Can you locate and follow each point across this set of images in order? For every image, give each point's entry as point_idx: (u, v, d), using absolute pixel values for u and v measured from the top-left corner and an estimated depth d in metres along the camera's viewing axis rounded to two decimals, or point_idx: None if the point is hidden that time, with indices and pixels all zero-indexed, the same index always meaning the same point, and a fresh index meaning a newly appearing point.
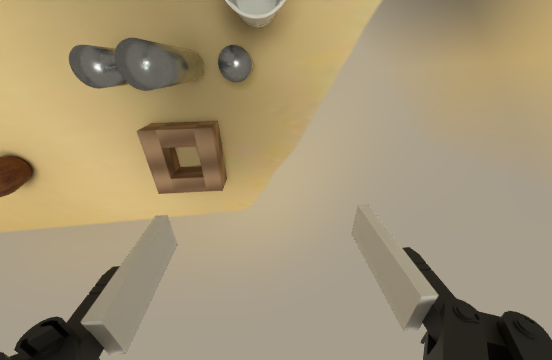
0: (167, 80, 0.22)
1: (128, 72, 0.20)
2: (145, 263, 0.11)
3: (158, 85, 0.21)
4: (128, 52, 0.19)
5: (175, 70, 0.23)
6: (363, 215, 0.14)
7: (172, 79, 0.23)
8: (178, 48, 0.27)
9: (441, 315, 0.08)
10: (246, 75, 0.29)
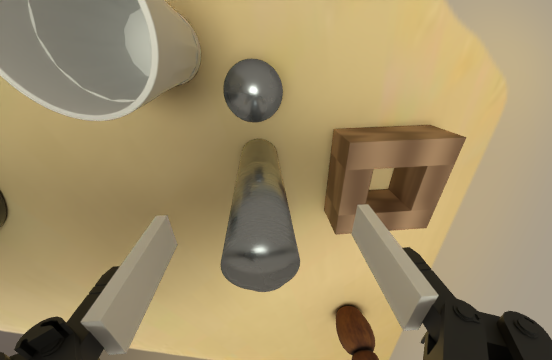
0: (283, 224, 0.12)
1: (271, 279, 0.12)
2: (145, 263, 0.11)
3: (292, 247, 0.11)
4: (242, 275, 0.12)
5: (266, 202, 0.13)
6: (363, 215, 0.14)
7: (280, 210, 0.13)
8: (237, 176, 0.19)
9: (441, 315, 0.08)
10: (271, 70, 0.15)
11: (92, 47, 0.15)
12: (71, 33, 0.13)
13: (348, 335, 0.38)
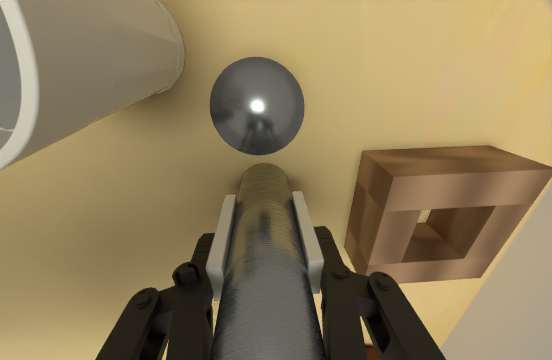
0: None
1: None
2: (231, 231, 0.13)
3: None
4: None
5: (280, 312, 0.07)
6: (293, 200, 0.15)
7: (305, 331, 0.07)
8: (233, 229, 0.13)
9: (325, 282, 0.10)
10: (287, 76, 0.09)
11: None
12: None
13: None
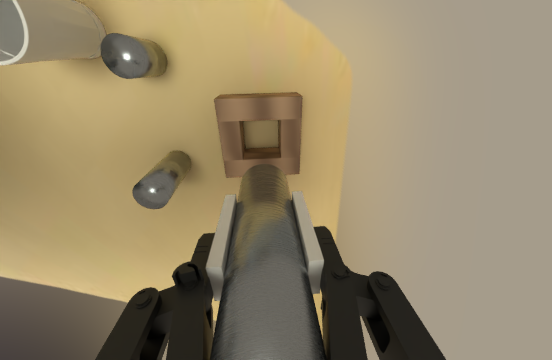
0: None
1: None
2: (231, 231, 0.13)
3: None
4: None
5: (280, 314, 0.07)
6: (293, 200, 0.15)
7: (306, 333, 0.07)
8: (233, 230, 0.13)
9: (325, 282, 0.10)
10: (130, 41, 0.23)
11: (12, 26, 0.22)
12: None
13: None
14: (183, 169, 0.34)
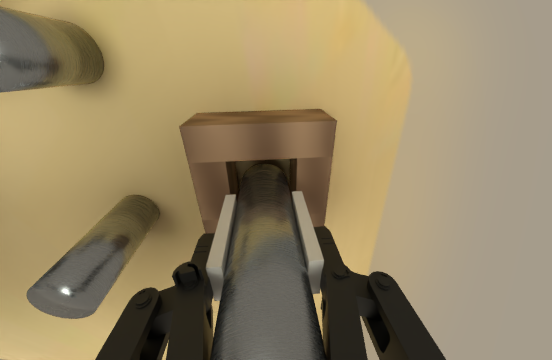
0: None
1: None
2: (231, 231, 0.13)
3: None
4: None
5: (281, 314, 0.07)
6: (293, 200, 0.15)
7: (305, 332, 0.07)
8: (233, 230, 0.13)
9: (325, 282, 0.10)
10: None
11: None
12: None
13: None
14: (140, 230, 0.21)
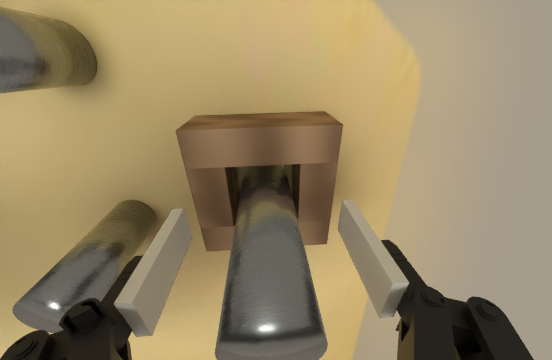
0: (303, 290, 0.09)
1: None
2: (166, 252, 0.12)
3: (318, 331, 0.08)
4: None
5: (278, 251, 0.10)
6: (346, 210, 0.14)
7: (297, 263, 0.10)
8: (239, 203, 0.15)
9: (412, 302, 0.09)
10: None
11: None
12: None
13: None
14: (136, 238, 0.20)
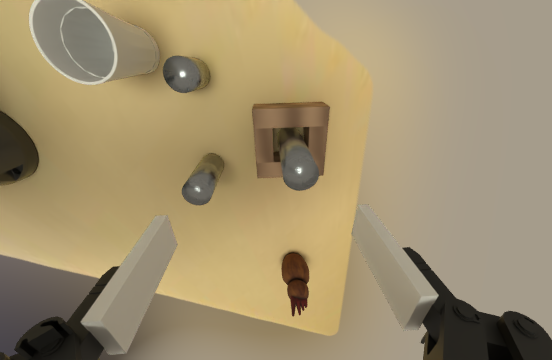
0: (311, 157, 0.26)
1: (305, 183, 0.26)
2: (145, 263, 0.11)
3: (316, 165, 0.25)
4: (292, 180, 0.25)
5: (302, 149, 0.27)
6: (363, 215, 0.14)
7: (309, 153, 0.27)
8: (280, 143, 0.32)
9: (441, 315, 0.08)
10: (188, 62, 0.27)
11: (91, 50, 0.27)
12: (80, 43, 0.25)
13: (286, 270, 0.49)
14: (219, 170, 0.38)
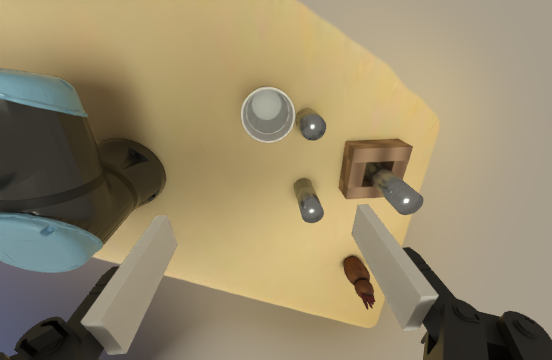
0: (415, 191, 0.35)
1: (410, 210, 0.35)
2: (145, 263, 0.11)
3: (422, 197, 0.34)
4: (402, 208, 0.35)
5: (405, 184, 0.36)
6: (363, 215, 0.14)
7: (410, 187, 0.36)
8: (374, 175, 0.42)
9: (441, 315, 0.08)
10: (322, 119, 0.36)
11: (249, 110, 0.36)
12: (248, 108, 0.34)
13: (352, 271, 0.59)
14: None
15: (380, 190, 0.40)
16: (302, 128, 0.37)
